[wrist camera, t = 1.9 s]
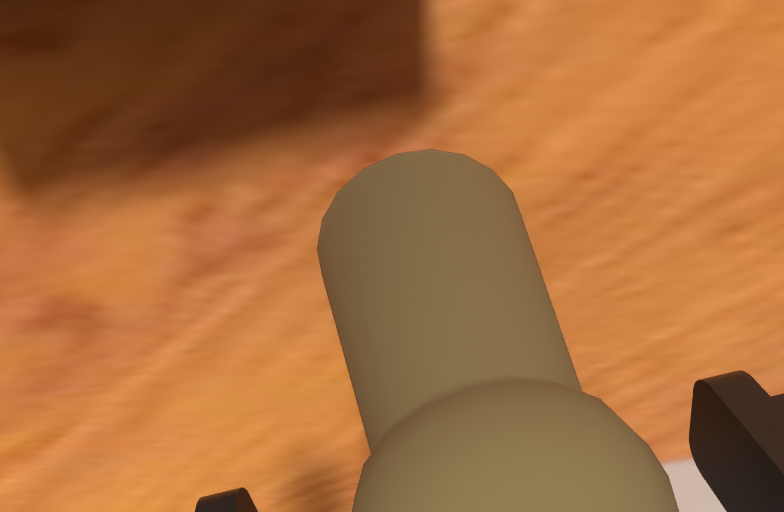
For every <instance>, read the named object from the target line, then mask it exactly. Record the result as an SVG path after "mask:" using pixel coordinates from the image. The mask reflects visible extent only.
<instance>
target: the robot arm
mask: <svg viewBox="0 0 784 512" xmlns="http://www.w3.org/2000/svg"><path fill="white" fill-rule="evenodd" d="M689 444H690V449H691V453H692V456H693V459H694V461H695V463H696V466H697V468H698V469H699V471H700V473H701V475H702V476H703V478H704V479H705V480H706V482H707V483H708V485H709V486H710V488H711V489H712V491H713V492H714V494H715V495H716V496H717V498H718V499H719V501H720V502H721V504H722V505H723V507H724V508H725V510H726V511H727V512H784V394H780V395H776V396H771V397H770V396H769V395H768V393H767V392H766V391H765V390H764V389H763V388H762V387H761V386H760V385H759V384H758V383H757V382H756V381H755V379H754V378H753V377H751V376H750V375H749V374H748V373H746V372H744V371H741V370H740V371H734V372H730V373H726V374H722V375H718V376H714V377H709V378H705V379H701V380H698V381H696V382H695V384H694V388H693V399H692V409H691V420H690V431H689ZM195 512H258V511H257V509H256V507H255V505H254V503H253V501H252V499H251V497H250V495H249V493H248V491H247V490H246V489H245V488H238V489H234V490H230V491H225V492H221V493H217V494H213V495H209V496H205V497H201V498H200V499H199V501H198V502H197V505H196V509H195Z"/></svg>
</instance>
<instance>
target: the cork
mask: <svg viewBox="0 0 784 512" xmlns="http://www.w3.org/2000/svg"><path fill="white" fill-rule="evenodd" d="M317 251H318V256H319V262H320V267H321V272H322V277H323V280H324V284H325V288H326V291H327V295H328V299H329V302H330V306H331V309H332V313H333V317H334V320H335V324H336V328H337V331H338V335H339V339H340V342H341V346H342V349H343V353H344V357H345V360H346V364H347V368H348V371H349V375H350V378H351V382H352V386H353V389H354V393H355V397H356V400H357V404H358V408H359V411H360V415H361V418H362V422H363V426H364V429H365V433H366V437H367V440H368V444H369V447H370V451H371V455H370V457H369V458H368V459H367V460H366V462H365V463H364V465H363V469H362V473H361V476H360V480H359V484H358V487H357V491H356V495H355V499H354V504H353V508H352V512H679V510H678V506H677V503H676V500H675V497H674V493H673V490H672V486H671V483H670V480H669V476H668V475H667V473H666V472H665V470H664V468H663V467H662V465H661V464H660V462H659V461H658V459H657V457H656V456H655V454H654V453H653V451H652V450H651V448H650V446H649V445H648V444H647V443H646V442H645V441H644V440H643V439H642V438H641V437H640V436H638V435H637V434H636V433H635V432H634V431H633V430H632V429H631V428H630V427H629V426H628V425H627V424H626V423H625V422H624V421H623V420H622V419H621V418H620V417H619V416H618V415H617V414H616V413H615V412H613V411H612V410H611V409H610V408H609V407H608V406H607V405H606V404H605V403H604V402H603V401H602V400H601V399H599V398H596V397H594V396H591V395H589V394H586V393H584V392H582V389H581V386H580V383H579V381H578V378H577V375H576V372H575V369H574V366H573V363H572V360H571V357H570V355H569V352H568V349H567V346H566V343H565V340H564V337H563V334H562V332H561V329H560V326H559V323H558V320H557V317H556V314H555V311H554V308H553V306H552V303H551V300H550V297H549V294H548V291H547V288H546V285H545V282H544V280H543V277H542V274H541V271H540V268H539V265H538V262H537V259H536V257H535V254H534V251H533V248H532V245H531V242H530V239H529V236H528V233H527V231H526V228H525V225H524V222H523V219H522V216H521V214H520V211H519V208H518V205H517V203H516V200H515V197H514V195H513V192H512V191H511V190H510V189H509V188H508V186H507V185H506V184H505V183H504V182H503V181H502V180H501V178H500V177H499V176H498V175H497V174H496V173H495V172H494V171H493V170H492V169H490V168H489V167H487V166H485V165H483V164H481V163H479V162H477V161H475V160H474V159H472V158H470V157H468V156H466V155H464V154H458V153H452V152H446V151H440V150H434V149H427V150H420V151H413V152H406V153H399V154H394V155H392V156H390V157H388V158H386V159H384V160H381V161H379V162H377V163H375V164H373V165H371V166H368V167H366V168H364V169H363V170H361V171H360V172H359V173H358V174H357V175H356V176H355V177H354V178H353V179H351V180H350V181H349V182H348V183H347V184H346V185H345V186H344V187H343V188H341V189H340V190H339V191H338V192H337V194H336V196H335V198H334V199H333V201H332V203H331V205H330V206H329V208H328V210H327V212H326V213H325V215H324V217H323V219H322V223H321V229H320V234H319V240H318V246H317Z"/></svg>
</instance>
